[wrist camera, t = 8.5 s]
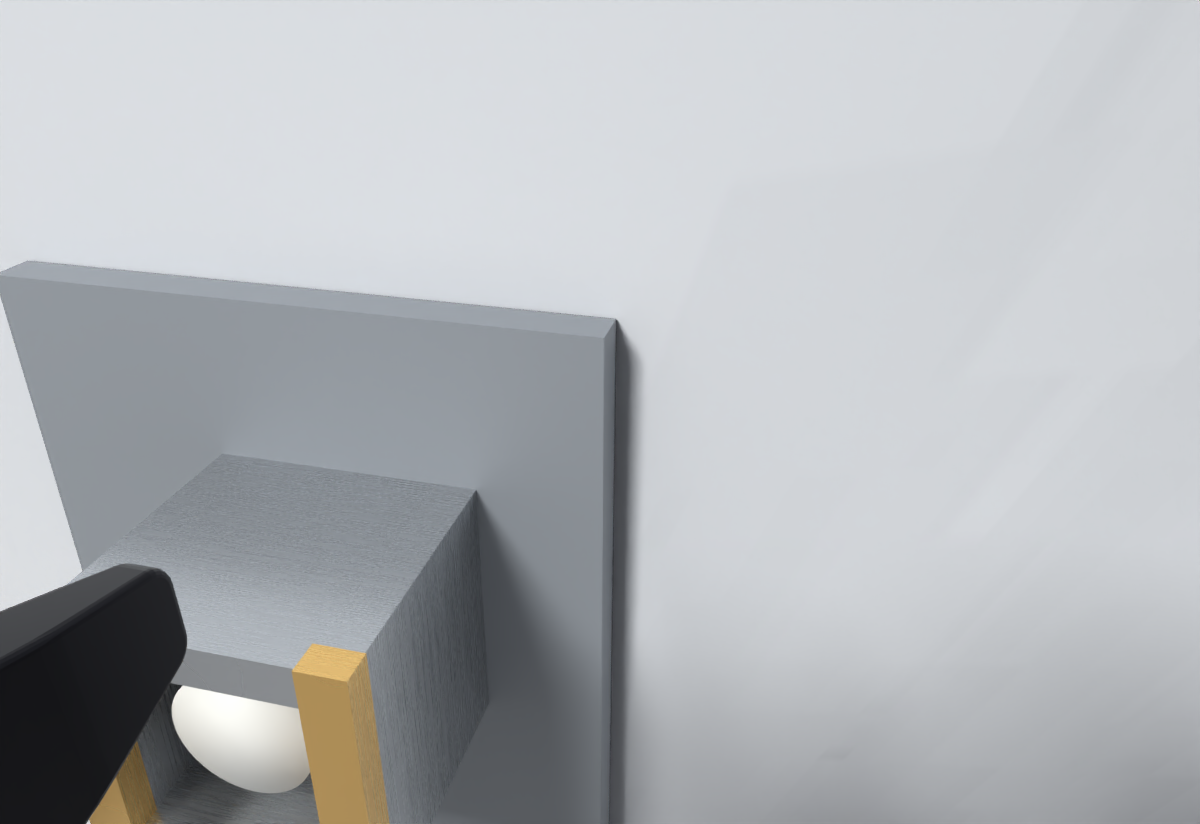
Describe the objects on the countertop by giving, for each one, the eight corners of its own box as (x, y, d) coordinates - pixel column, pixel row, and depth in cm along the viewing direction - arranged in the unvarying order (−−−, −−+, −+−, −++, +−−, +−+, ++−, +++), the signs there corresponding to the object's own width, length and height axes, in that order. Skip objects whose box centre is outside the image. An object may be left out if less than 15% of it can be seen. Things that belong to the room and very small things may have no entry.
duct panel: (615, 319, 20) (523, 468, 14) (608, 901, 28) (547, 1128, 23) (27, 260, 22) (-225, 366, 17) (179, 803, 31) (40, 983, 26)
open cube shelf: (491, 704, 24) (384, 928, 19) (262, 660, 25) (102, 858, 20) (478, 488, 21) (347, 681, 16) (219, 451, 22) (20, 618, 17)
